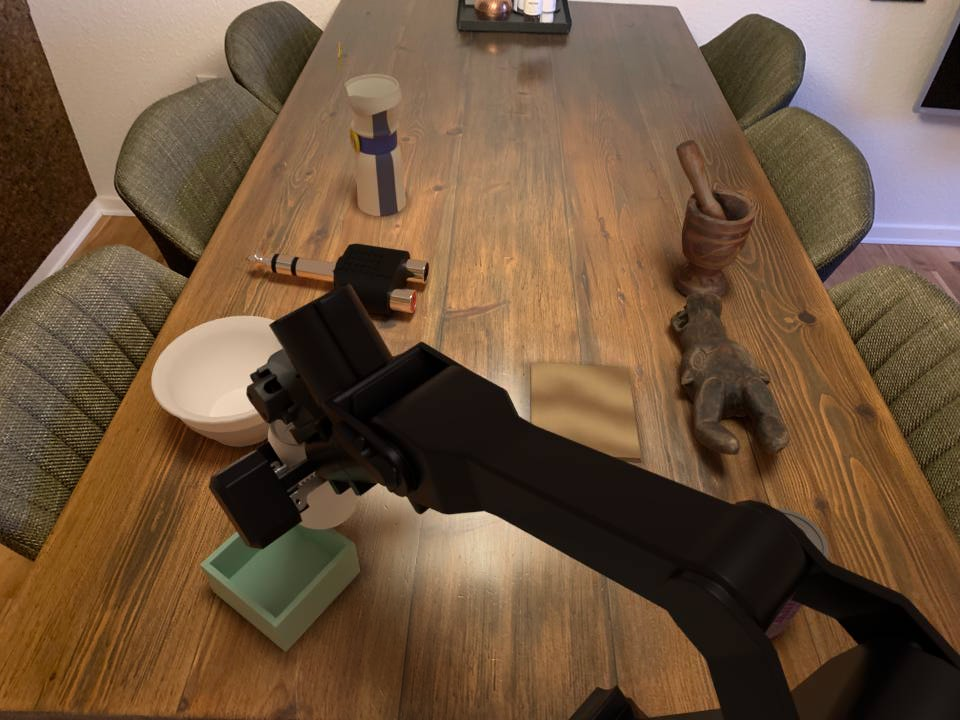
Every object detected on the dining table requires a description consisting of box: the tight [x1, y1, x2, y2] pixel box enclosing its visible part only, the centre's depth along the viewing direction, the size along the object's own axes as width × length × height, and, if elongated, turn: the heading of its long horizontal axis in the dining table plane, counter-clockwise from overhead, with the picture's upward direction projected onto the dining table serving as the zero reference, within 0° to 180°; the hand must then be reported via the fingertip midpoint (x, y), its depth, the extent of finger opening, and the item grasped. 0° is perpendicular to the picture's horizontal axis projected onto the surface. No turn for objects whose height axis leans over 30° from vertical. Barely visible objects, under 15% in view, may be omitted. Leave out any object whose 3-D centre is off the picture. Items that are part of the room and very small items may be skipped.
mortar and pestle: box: [672, 139, 757, 299], centre depth 94 cm, size 12×9×20 cm
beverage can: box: [765, 507, 830, 640], centre depth 63 cm, size 7×7×12 cm
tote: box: [199, 524, 361, 653], centre depth 66 cm, size 10×10×5 cm
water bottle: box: [337, 41, 407, 217], centre depth 104 cm, size 8×9×25 cm
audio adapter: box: [245, 243, 430, 317], centre depth 96 cm, size 11×5×25 cm
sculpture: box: [669, 292, 791, 456], centre depth 84 cm, size 10×26×7 cm, turn 0°
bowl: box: [150, 315, 283, 448], centre depth 78 cm, size 16×16×8 cm
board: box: [530, 361, 642, 463], centre depth 83 cm, size 14×12×1 cm
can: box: [267, 420, 360, 529], centre depth 62 cm, size 6×6×12 cm
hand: (305, 449), depth 62 cm, fingers closed on can, 6 cm apart
